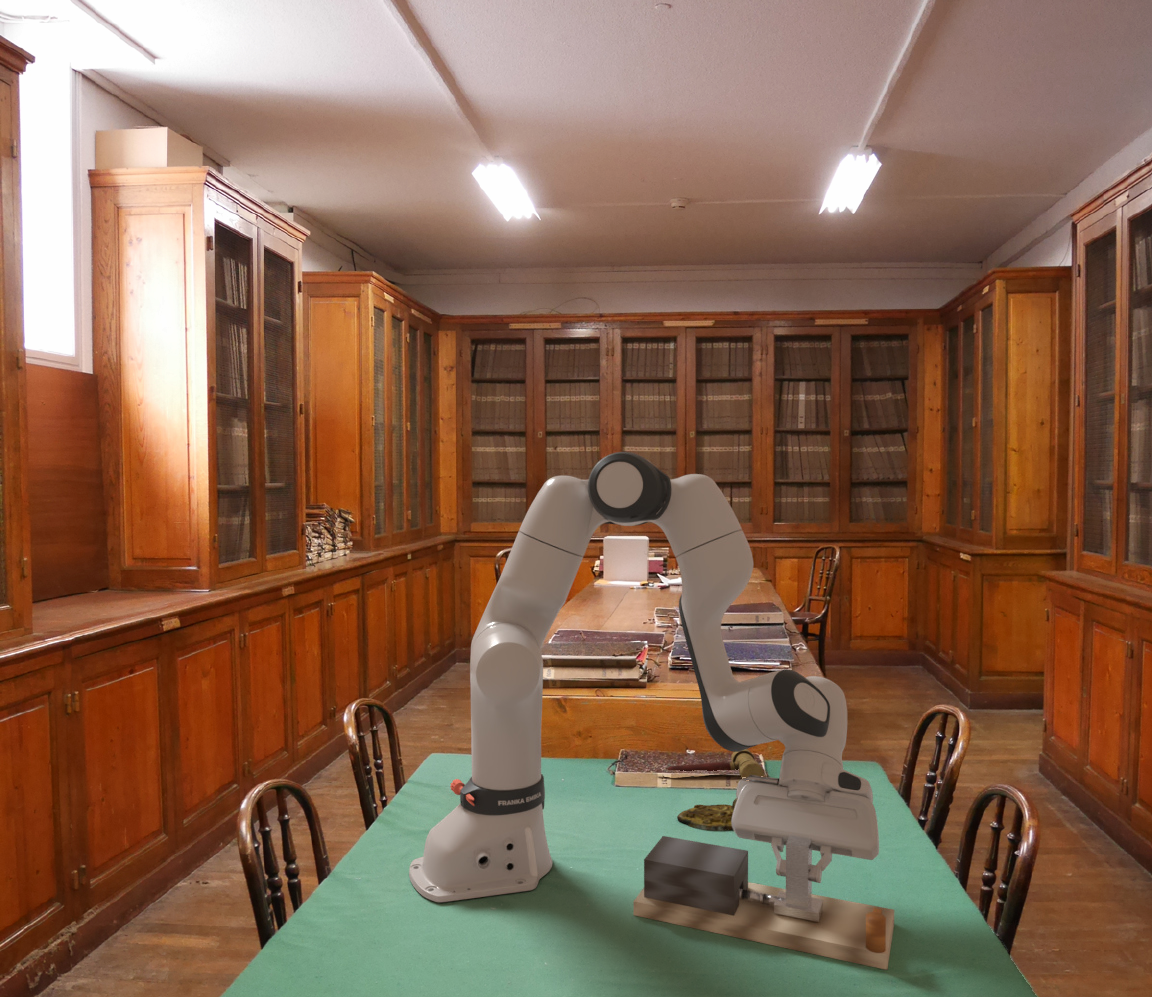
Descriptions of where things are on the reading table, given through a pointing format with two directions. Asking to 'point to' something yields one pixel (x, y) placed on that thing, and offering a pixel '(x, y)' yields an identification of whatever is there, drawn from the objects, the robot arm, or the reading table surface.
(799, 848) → the chain end
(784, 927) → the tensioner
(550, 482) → the robot arm
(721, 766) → the gavel
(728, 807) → the seal
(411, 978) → the reading table surface
